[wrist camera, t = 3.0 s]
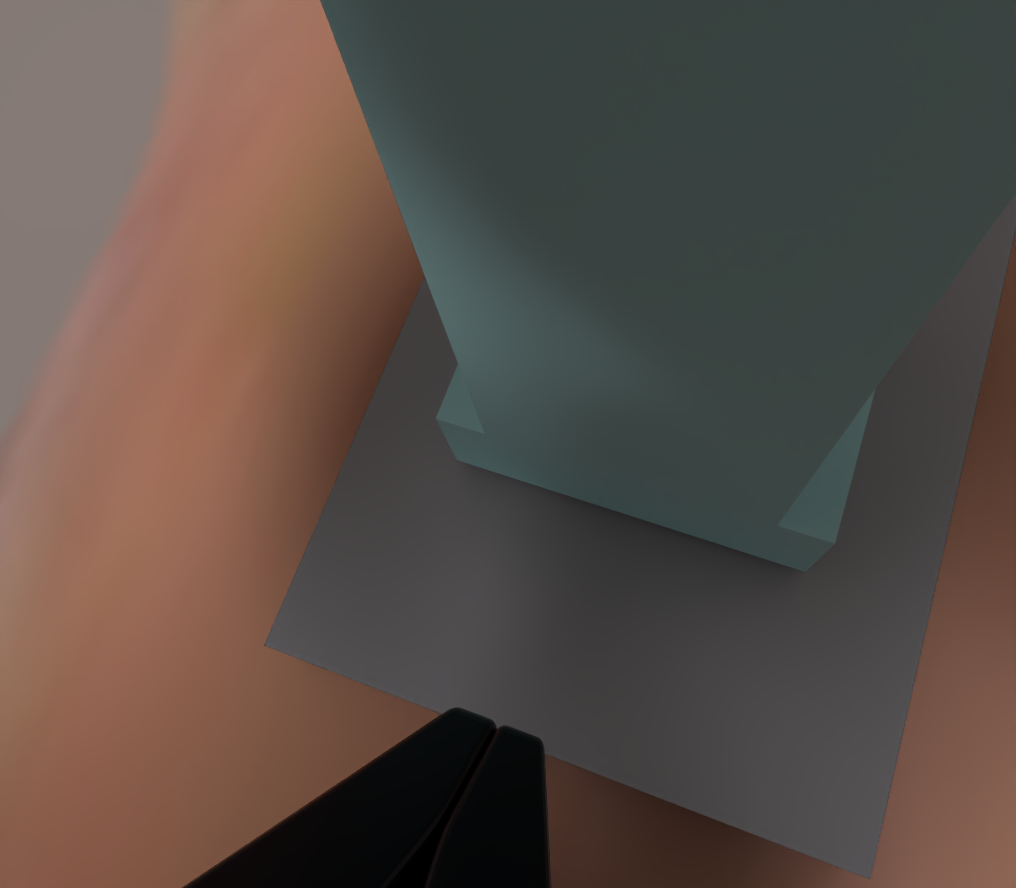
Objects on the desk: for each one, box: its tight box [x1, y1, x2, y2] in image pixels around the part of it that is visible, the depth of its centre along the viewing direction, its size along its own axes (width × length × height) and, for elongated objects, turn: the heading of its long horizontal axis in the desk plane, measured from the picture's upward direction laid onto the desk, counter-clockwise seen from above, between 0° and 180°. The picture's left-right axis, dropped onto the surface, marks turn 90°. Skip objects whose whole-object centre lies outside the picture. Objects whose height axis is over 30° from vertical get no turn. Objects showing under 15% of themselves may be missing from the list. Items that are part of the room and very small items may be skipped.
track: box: [264, 194, 1016, 879], centre depth 14 cm, size 23×10×10 cm, turn 160°
